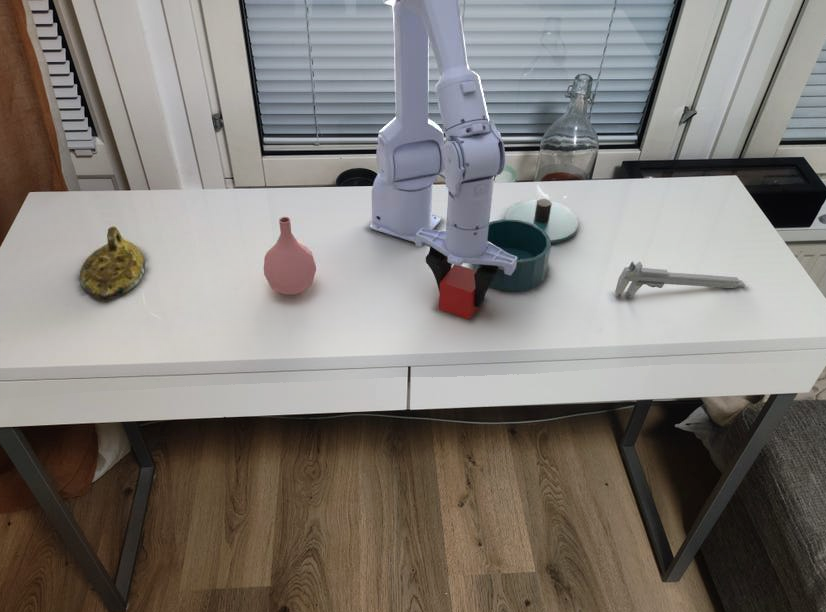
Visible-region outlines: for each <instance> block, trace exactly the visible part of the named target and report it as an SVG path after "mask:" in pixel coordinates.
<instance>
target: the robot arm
mask: <svg viewBox="0 0 826 612" xmlns="http://www.w3.org/2000/svg"><path fill="white" fill-rule="evenodd" d="M381 2H382V3H383V4H385V5H389V6H392V15H393V49H394V50H393V51H394V52H393V53H394V55H393V57H394V93H395V95H394V97H395V99H394V101H395V117H394V118H393V119H392V120H391V121H390V122H388V123H387V124H386V125H384V127H382V128H381V129H380V130H379V131H378V136H377V148H376V151H375V152H376V153H375V159H376V167H377V170H378V173H377V174H376V177H375V178H374V180H373V184H372V188H371V224H370V225H369V228H370V229H371V230H372V231H373V230H374V231H377V232H380V233H383V234H386V235H389V236H393V237H395V238H400V239H403V240H406V241H408V242H411V243H412V242H413V243H415V246H416V247H419V248H423V247H424V246H425V247H428V248H429V251H428V253H427V254H426V256H425V263H426V264H427V266H428V267H429V269H430V270H431V272H432V274H433V276H434V279H435V282H436V285H437V289H438V292H439V291H440V282H441V280H442V279H443V278H444V277H445V275H446V274H447V273H448V272H449V270H450V269H451V268H452V267H453V265H457V266H463V264H472V265H473V264H482V265H481V266H480V267H479V268H478V270H477V271H476V272H475V274H474V278H475V298H474V307H477V309H479V308H480V307H481V306H482V304H483V303H484V301H485V297H486V295H487V292H488V289H489V288H490V287H489V285H490V283H491V281H492V280H493V278H494V276H495V275H496V274H497V272H498V271H499V269H501V270H504V273H505V274H507V275H511V274H512V273H513V272H514V270H515V269H516V264H517V257H516V256H513V255H511V254H509V253H507V252H505V251H503V250H502V249H500V248H498V247H497V246H495V245H493V244H492V243H490V242H488V241H487V238H488V228H489V223H490V220H491V211H492V202H493V201H492V200H493V191H494V183H495V176H498V175H501V174H502V173H503V171H504V169H505V167H506V166H505V165H506V150H505V144H504V143H505V142H504V139H503V137H502V134H501V133H500V132H499V130H498V129H497V127H496V124H495V122H494V120H490V118H489V114H488V113H489V112H488V110H487V109H488V108H487V105H486V100H485V95H484V92H483V86H482V83H481V77H480V76H479V75H478V73H477V72H475V71H473V70H472V69H471V68H470V67H469V63H468V57H467V50H466V49H467V48H466V41H465V34H464V28H463V27H464V26H463V22H462V21H463V20H462V13H461V6H460V5H461V4H460V0H381ZM429 46H431V48H432V52H433V56H434V59H435V62H436V64H437V69H438V71H439V74H440V76H439V79H438V81H437V82H436V84H435V87H434V92H435V97H436V102H437V105H438V109H439V114H440V119H441V124H442V127H443V131H442V128H441V127H440V126H439V124H437V123H436V122H435V121H434V120H432V119H430V118H429V86H430V85H429V80H430V79H429V77H430V76H429V70H430V69H429V65H430V64H429V63H430V61H429V60H430V59H429V58H430V55H429V53H430V52H429V51H430V49H429ZM444 137H445V139H444ZM445 140H446V141H445ZM443 172H444V183H445V187H446V188H447V190H448V194H447V207H446V208H447V209H446V223H445V224H446V225H445V230H438V229H435V228H436V227H437V226H439V223H440V222H441V219H442V218H441V217H438V216H436V215H433V194H434V183H436V182H438V176H439V175H442V174H443Z"/></svg>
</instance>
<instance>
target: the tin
mask: <svg viewBox="0 0 826 612" xmlns="http://www.w3.org/2000/svg"><path fill="white" fill-rule="evenodd" d="M487 241H488V242H490V243H492V244H493V245H495V246H497V247H498V248H500V249H502V250H503V251H505V252H507V253H509V254H511V255H513V256H516V257H517V264H516V269H515V270H514V272H513V273H512V274H511V275H507V274H505V273H504V270H501V269H499V271H498V272H497V274H496V275H495V276H494V278H493V280H492V281H491V283H490V285H489V287H488V288H492V289H494V290H498V291H502V292H508V293H509V292H510V293H511V292H512V293H513V292H515V293H516V292H517V293H518V292H524V291H528V290H529V291H530V290H531V289H534V288H536V287H537V286H539V285H540V284H541V283H542V282H543V280H544V279H545V277H546V275H547V270H548V264H549V260H550V259H549V258H550V253H551V248H552V246H551V244H552V243H550V237H549V236H548V235H547V234H546V232H545V231H544V230H543V229H541V228H539V227H538V226H536V225H534V224H532V223H529V222H525V221H522V220H513V219H505V218H504V219H498V220H497V219H496V220H492V221H489V228H488V238H487ZM481 265H482V264H472V270H476V271H477V270H478V268H479V267H480V266H481Z"/></svg>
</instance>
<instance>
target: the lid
mask: <svg viewBox="0 0 826 612" xmlns="http://www.w3.org/2000/svg"><path fill="white" fill-rule="evenodd" d="M504 219H513V220H522V221H525V222H529V223H532V224H534V225H536V226H538V227H539V228H541V229H543V230H544V231H545V232H546V234H547V235H548V236H549V237H550V243H551V244H552V243H554V244H555V243H559V242H562V241H565V240H568V239H570V238H572V237H573V236H574V235H576V233H577V232H578V229H579V219H578V216H577V214H575V212H574V211H572V209H570V208H568V207H567V206H565V205H563V204H561V203H558V202H555V201H551V200H550V199H546V198H540V199H527V200H521V201H519V202H516V203H514V204H513V205H510V206H509V208H507V210H506V212H505V214H504Z"/></svg>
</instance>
